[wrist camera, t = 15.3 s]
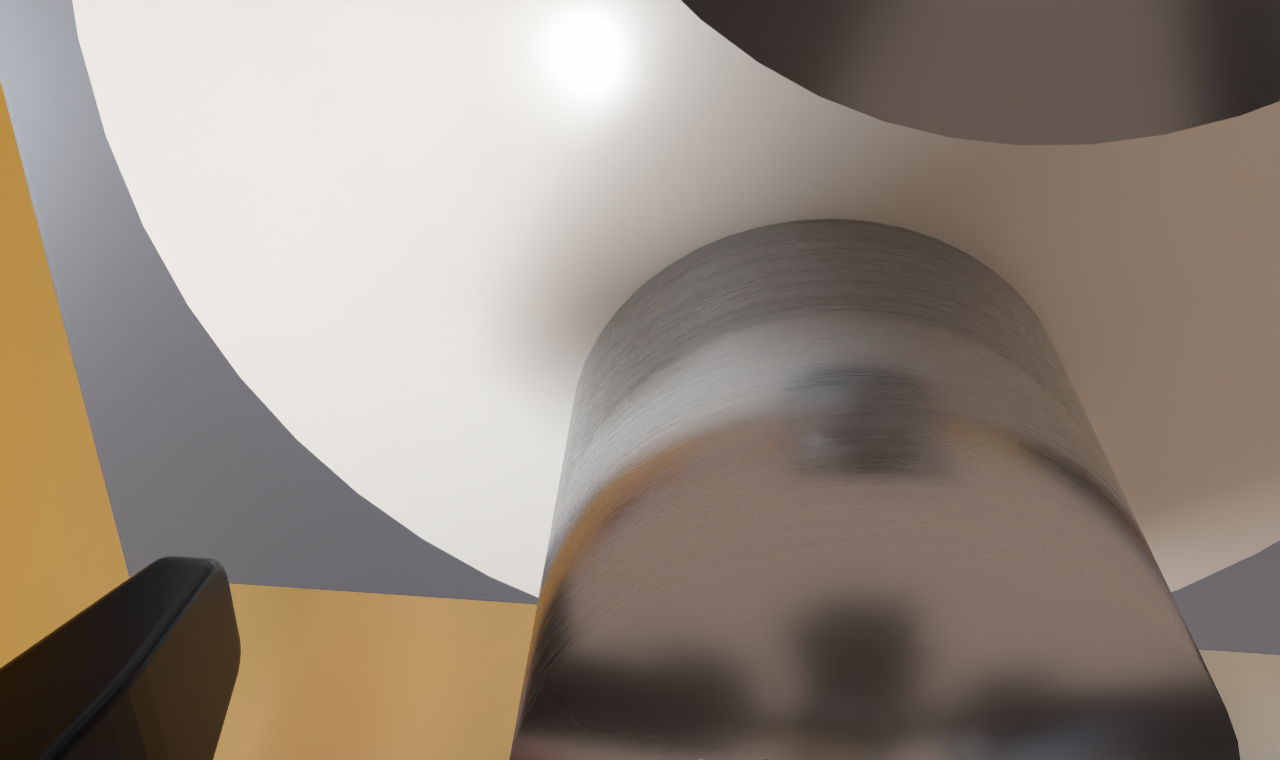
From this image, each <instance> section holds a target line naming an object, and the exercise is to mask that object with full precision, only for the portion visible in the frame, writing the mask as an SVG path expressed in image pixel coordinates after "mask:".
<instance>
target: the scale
mask: <svg viewBox="0 0 1280 760" xmlns="http://www.w3.org/2000/svg"><path fill="white" fill-rule="evenodd" d="M0 80H1V84H2V88H3V92H4V96H5V100H6V104H7V107H8V111H9V115H10V119H11V123H12V127H13V130H14V134H15V138H16V142H17V146H18V150H19V154H20V157H21V161H22V165H23V169H24V173H25V177H26V180H27V184H28V188H29V192H30V196H31V200H32V204H33V207H34V211H35V215H36V219H37V223H38V227H39V231H40V234H41V238H42V242H43V246H44V250H45V254H46V257H47V261H48V265H49V269H50V273H51V277H52V281H53V284H54V288H55V292H56V296H57V300H58V304H59V308H60V311H61V315H62V319H63V323H64V327H65V331H66V334H67V338H68V342H69V346H70V350H71V354H72V358H73V361H74V365H75V369H76V373H77V377H78V381H79V384H80V388H81V392H82V396H83V400H84V404H85V408H86V411H87V415H88V419H89V423H90V427H91V431H92V435H93V438H94V442H95V446H96V450H97V454H98V458H99V461H100V465H101V469H102V473H103V477H104V481H105V485H106V488H107V492H108V496H109V500H110V504H111V508H112V512H113V515H114V519H115V523H116V527H117V531H118V535H119V538H120V542H121V546H122V550H123V554H124V558H125V562H126V565H127V569H128V573H129V576H130V577H132V576H133V575H135V574H136V573H138V572H139V571H141V570H142V569H143V568H145V567H146V566H148V565H149V564H151V563H152V562H154V561H156V560H158V559H160V558H162V557H167V556H180V557H195V558H210V559H214V560H216V561H218V562H220V563H221V564H222V566H223V567H224V569H225V571H226V574H227V577H228V582H229V583H233V584H248V585H262V586H277V587H292V588H307V589H321V590H336V591H351V592H365V593H380V594H395V595H409V596H424V597H439V598H453V599H468V600H483V601H497V602H512V603H527V604H538V599H539V594H540V588H541V582H542V577H543V571H544V566H545V560H546V555H547V549H548V543H549V538H550V532H551V527H552V521H553V515H554V510H555V504H556V499H557V493H558V488H559V482H560V476H561V471H562V465H563V460H564V454H565V449H566V443H567V437H568V432H569V426H570V421H571V415H572V410H573V404H574V399H575V393H576V388H577V384H578V381H579V378H580V375H581V373H582V370H583V367H584V364H585V361H586V359H587V357H588V355H589V353H590V351H591V349H592V348H593V346H594V344H595V342H596V340H597V338H598V336H599V335H600V333H601V332H602V330H603V329H604V328H605V326H606V325H607V324H608V322H609V321H610V320H611V318H612V317H613V316H614V314H615V313H616V312H617V310H618V309H619V308H620V307H621V306H622V305H623V304H624V303H625V302H626V301H627V300H628V299H629V298H630V297H631V296H632V295H633V294H634V293H635V292H636V291H637V290H638V289H639V288H640V287H641V286H642V285H644V284H645V283H646V282H648V281H649V280H650V279H651V278H653V277H654V276H655V275H657V274H658V273H659V272H660V271H662V270H663V269H664V268H666V267H667V266H669V265H671V264H672V263H674V262H676V261H678V260H679V259H681V258H683V257H684V256H686V255H688V254H689V253H691V252H693V251H695V250H697V249H699V248H701V247H704V246H706V245H708V244H711V243H713V242H715V241H718V240H720V239H722V238H725V237H727V236H730V235H734V234H737V233H741V232H744V231H747V230H751V229H754V228H758V227H761V226H767V225H773V224H779V223H785V222H791V221H797V220H816V219H845V220H859V221H871V222H876V223H881V224H886V225H891V226H896V227H902V228H906V229H909V230H912V231H915V232H918V233H921V234H924V235H927V236H930V237H933V238H936V239H939V240H941V241H943V242H945V243H947V244H949V245H951V246H953V247H955V248H957V249H959V250H961V251H963V252H965V253H968V254H969V255H971V256H972V257H974V258H975V259H977V260H978V261H980V262H981V263H983V264H984V265H986V266H987V267H989V268H990V269H992V270H993V271H995V272H996V273H997V274H998V275H999V276H1000V277H1001V278H1002V279H1003V280H1005V281H1006V282H1007V283H1008V284H1009V285H1010V286H1011V287H1012V288H1013V289H1015V290H1016V291H1017V292H1018V293H1019V294H1020V296H1021V297H1022V298H1023V299H1024V301H1025V302H1026V303H1027V304H1028V305H1029V307H1030V308H1031V309H1032V310H1033V312H1034V313H1035V314H1036V315H1037V317H1038V319H1039V320H1040V322H1041V324H1042V325H1043V327H1044V329H1045V331H1046V332H1047V334H1048V336H1049V338H1050V339H1051V341H1052V343H1053V345H1054V347H1055V349H1056V352H1057V354H1058V356H1059V358H1060V360H1061V362H1062V364H1063V366H1064V368H1065V370H1066V373H1067V375H1068V377H1069V379H1070V381H1071V383H1072V385H1073V387H1074V389H1075V392H1076V394H1077V396H1078V398H1079V400H1080V402H1081V404H1082V406H1083V408H1084V410H1085V413H1086V415H1087V417H1088V419H1089V421H1090V423H1091V425H1092V427H1093V429H1094V432H1095V434H1096V436H1097V438H1098V440H1099V442H1100V444H1101V446H1102V448H1103V450H1104V453H1105V455H1106V457H1107V459H1108V461H1109V463H1110V465H1111V467H1112V469H1113V472H1114V474H1115V476H1116V478H1117V480H1118V482H1119V484H1120V486H1121V488H1122V490H1123V493H1124V495H1125V497H1126V499H1127V501H1128V503H1129V505H1130V507H1131V509H1132V512H1133V514H1134V516H1135V518H1136V520H1137V522H1138V524H1139V526H1140V528H1141V530H1142V533H1143V535H1144V537H1145V539H1146V541H1147V543H1148V545H1149V547H1150V549H1151V552H1152V554H1153V556H1154V558H1155V560H1156V562H1157V564H1158V566H1159V568H1160V570H1161V573H1162V575H1163V577H1164V579H1165V581H1166V583H1167V585H1168V587H1169V589H1170V592H1171V594H1172V596H1173V598H1174V600H1175V602H1176V604H1177V606H1178V608H1179V610H1180V613H1181V615H1182V617H1183V619H1184V621H1185V623H1186V625H1187V627H1188V629H1189V632H1190V634H1191V636H1192V638H1193V640H1194V642H1195V644H1196V646H1197V648H1198V649H1202V650H1216V651H1231V652H1246V653H1260V654H1275V655H1280V101H1279V102H1276V103H1274V104H1271V105H1268V106H1265V107H1263V108H1260V109H1257V110H1254V111H1252V112H1249V113H1246V114H1244V115H1241V116H1237V117H1233V118H1229V119H1225V120H1221V121H1217V122H1213V123H1209V124H1205V125H1201V126H1197V127H1193V128H1189V129H1185V130H1181V131H1177V132H1173V133H1169V134H1165V135H1159V136H1151V137H1144V138H1136V139H1129V140H1121V141H1114V142H1106V143H1099V144H1089V145H1011V144H1002V143H993V142H984V141H975V140H966V139H957V138H949V137H945V136H941V135H937V134H933V133H929V132H925V131H921V130H917V129H912V128H908V127H904V126H900V125H896V124H892V123H888V122H884V121H881V120H879V119H876V118H873V117H871V116H868V115H866V114H863V113H861V112H858V111H856V110H853V109H850V108H848V107H845V106H843V105H840V104H838V103H835V102H832V101H830V100H827V99H825V98H822V97H820V96H818V95H816V94H814V93H812V92H811V91H809V90H807V89H805V88H803V87H802V86H800V85H798V84H796V83H794V82H793V81H791V80H789V79H787V78H785V77H784V76H782V75H780V74H778V73H776V72H775V71H773V70H771V69H769V68H767V67H766V66H764V65H762V64H760V63H758V62H757V61H756V60H754V59H753V58H752V57H750V56H749V55H748V54H746V53H745V52H744V51H742V50H741V49H740V48H738V47H737V46H736V45H734V44H733V43H732V42H730V41H729V40H728V39H726V38H725V37H723V36H722V35H721V34H719V33H718V32H717V31H715V30H714V29H713V28H711V27H710V26H709V25H707V24H706V23H705V22H703V21H702V20H701V19H700V18H699V17H698V16H697V15H696V14H695V13H694V12H693V11H692V10H691V9H690V8H688V7H687V6H686V5H685V4H684V3H683V2H682V1H681V0H0Z"/></svg>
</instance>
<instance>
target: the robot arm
mask: <svg viewBox="0 0 1280 760" xmlns="http://www.w3.org/2000/svg"><path fill="white" fill-rule="evenodd" d="M240 655H241V645H240V637H239V632H238V627H237V622H236V617H235V612H234V607H233V602H232V597H231V592H230V587H229V582H228V577H227V574H226V571H225V569H224V567H223V566H222V564H221V563H220V562H218V561H216V560H214V559H210V558H195V557H180V556H167V557H162V558H160V559H158V560H156V561H154V562H152V563H151V564H149V565H148V566H146V567H145V568H143V569H142V570H141V571H139V572H138V573H136V574H135V575H133V576H132V577H131V578H129V579H128V580H126V581H125V582H123V583H122V584H121V585H119V586H118V587H116V588H115V589H113V590H112V591H110V592H109V593H108V594H106V595H105V596H103V597H102V598H100V599H99V600H98V601H96V602H95V603H93V604H92V605H90V606H89V607H88V608H86V609H85V610H83V611H82V612H80V613H79V614H78V615H76V616H75V617H73V618H72V619H70V620H69V621H67V622H66V623H65V624H63V625H62V626H60V627H59V628H57V629H56V630H55V631H53V632H52V633H50V634H49V635H47V636H46V637H45V638H43V639H42V640H40V641H39V642H37V643H36V644H34V645H33V646H32V647H30V648H29V649H27V650H26V651H24V652H23V653H22V654H20V655H19V656H17V657H16V658H14V659H13V660H12V661H10V662H9V663H7V664H6V665H4V666H3V667H2V668H0V760H213V758H214V754H215V751H216V747H217V744H218V741H219V737H220V734H221V730H222V727H223V723H224V720H225V716H226V713H227V710H228V706H229V703H230V699H231V696H232V692H233V689H234V685H235V682H236V679H237V675H238V670H239V664H240Z"/></svg>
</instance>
